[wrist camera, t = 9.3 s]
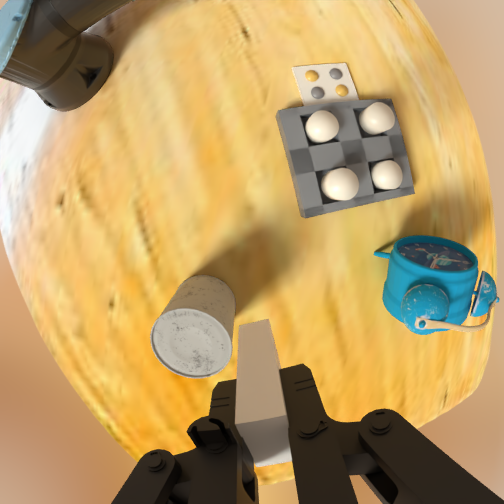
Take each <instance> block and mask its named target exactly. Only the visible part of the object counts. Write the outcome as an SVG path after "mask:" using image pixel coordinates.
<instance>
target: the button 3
mask: <svg viewBox="0 0 504 504" xmlns="http://www.w3.org/2000/svg"><path fill="white" fill-rule="evenodd" d="M359 123H360V125H361V127H362V128H363V130H364V131H365V132H367V133H369V134H372V135H376V134H379V133H382V132H384V131H387V130H389V129H391V128H392V127H393V126H394V123H395V117H394V113H393V111H392V110H391V108H390V107H389V106H387V105H386V104H384V103H381V102H376V103H373V104H372V105H370V106H369V107H367V108H366V109H364V110H363V111H362V112H361V113H360V115H359Z"/></svg>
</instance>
